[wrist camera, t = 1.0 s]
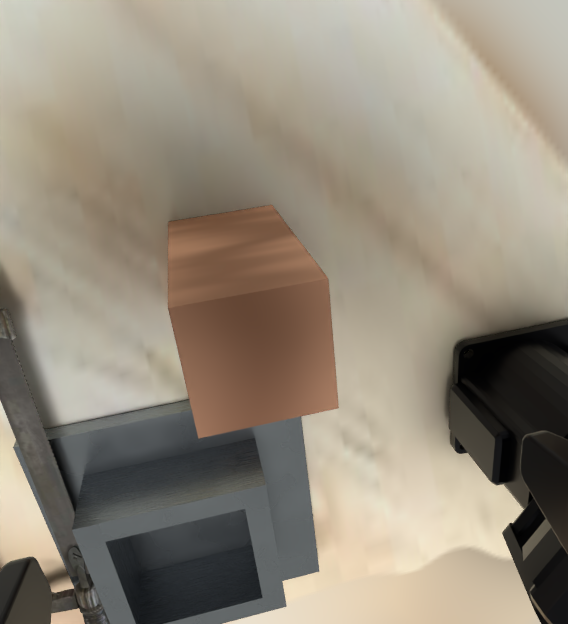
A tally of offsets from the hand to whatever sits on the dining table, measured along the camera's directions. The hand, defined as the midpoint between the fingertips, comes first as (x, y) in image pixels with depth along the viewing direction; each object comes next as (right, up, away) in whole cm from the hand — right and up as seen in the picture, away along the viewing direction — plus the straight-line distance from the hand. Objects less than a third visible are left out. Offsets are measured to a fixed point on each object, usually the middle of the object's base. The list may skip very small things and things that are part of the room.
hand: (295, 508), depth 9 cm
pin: (-2, +6, +11) cm, 13 cm away
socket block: (-5, -6, +16) cm, 18 cm away
